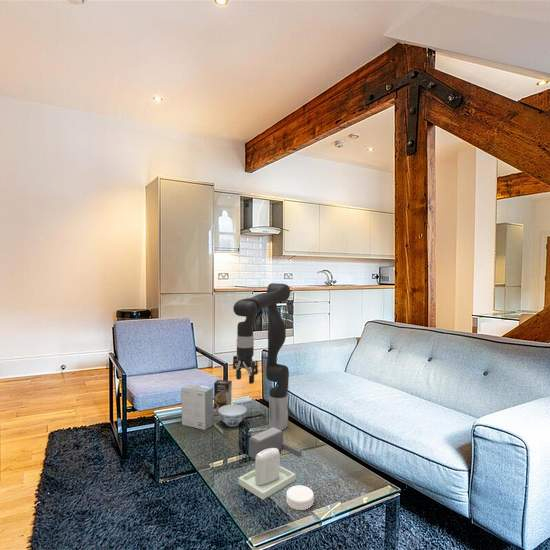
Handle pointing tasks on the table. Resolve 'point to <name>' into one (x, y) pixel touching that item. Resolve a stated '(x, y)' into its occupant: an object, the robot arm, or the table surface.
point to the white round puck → (300, 497)
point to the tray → (268, 488)
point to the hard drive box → (197, 406)
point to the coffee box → (222, 393)
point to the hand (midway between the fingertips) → (244, 381)
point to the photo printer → (267, 466)
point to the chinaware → (232, 414)
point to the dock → (269, 442)
